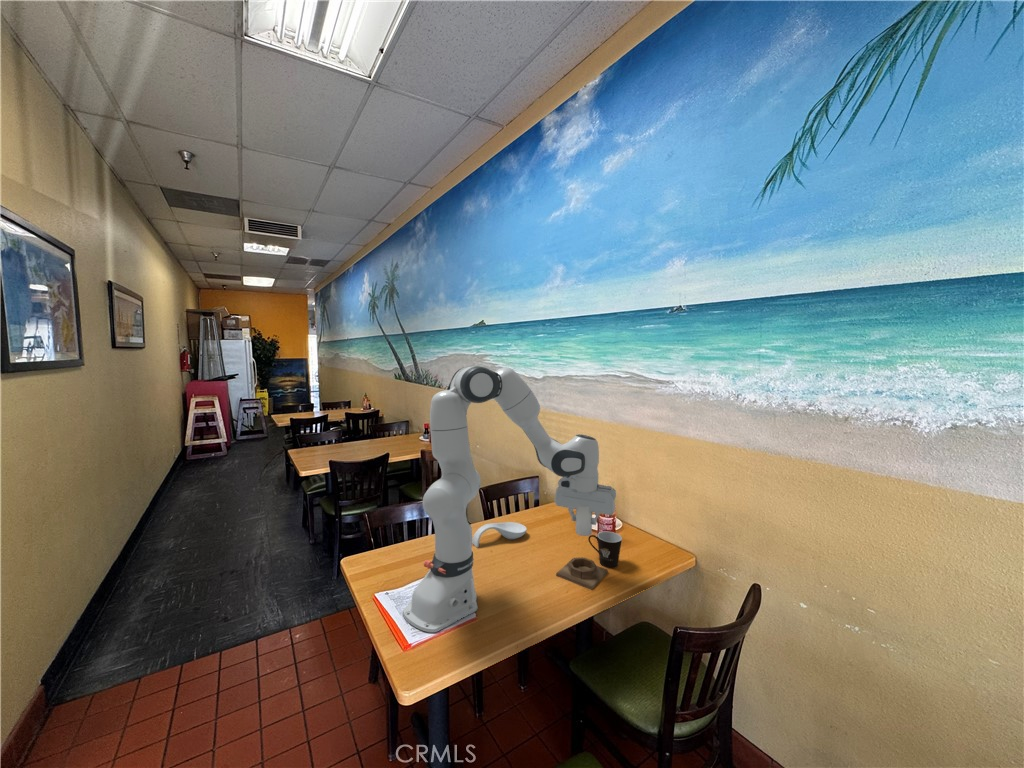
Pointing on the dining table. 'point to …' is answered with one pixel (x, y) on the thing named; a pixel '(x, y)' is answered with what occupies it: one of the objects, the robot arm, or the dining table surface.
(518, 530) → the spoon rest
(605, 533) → the coffee mug
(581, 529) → the roll
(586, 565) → the holder
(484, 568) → the dining table surface
